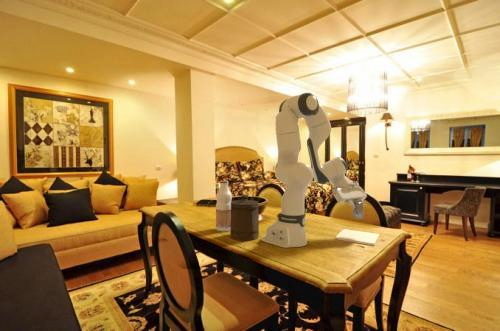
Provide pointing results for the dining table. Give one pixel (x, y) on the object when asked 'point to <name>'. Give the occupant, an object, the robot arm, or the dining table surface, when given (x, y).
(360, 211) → the steel tin
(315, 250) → the dining table surface
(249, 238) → the wooden container
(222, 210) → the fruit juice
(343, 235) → the cream board
